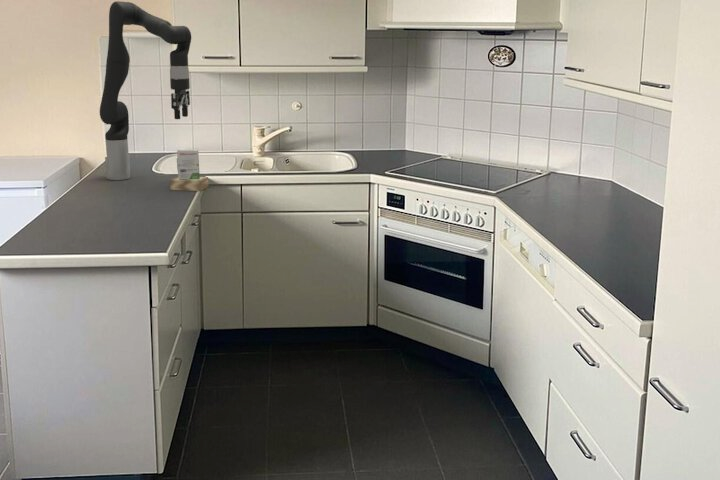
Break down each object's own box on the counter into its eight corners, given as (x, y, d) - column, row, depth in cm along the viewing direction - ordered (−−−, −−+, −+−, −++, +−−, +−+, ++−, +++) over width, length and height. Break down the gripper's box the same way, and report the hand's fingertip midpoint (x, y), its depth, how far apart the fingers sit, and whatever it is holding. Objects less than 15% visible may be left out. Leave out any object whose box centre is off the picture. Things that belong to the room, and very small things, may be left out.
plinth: (170, 189, 349) (170, 180, 348) (178, 185, 358) (178, 176, 357) (201, 190, 347) (200, 180, 346) (208, 186, 356) (208, 176, 355)
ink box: (199, 176, 355) (197, 148, 352) (199, 179, 350) (198, 150, 347) (178, 177, 353) (176, 149, 350) (178, 180, 349) (177, 151, 346)
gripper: (177, 75, 350) (178, 115, 354) (164, 78, 336) (165, 119, 340) (194, 76, 348) (196, 116, 353) (182, 79, 335) (183, 120, 339)
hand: (181, 117), depth 346 cm, fingers open, 8 cm apart
